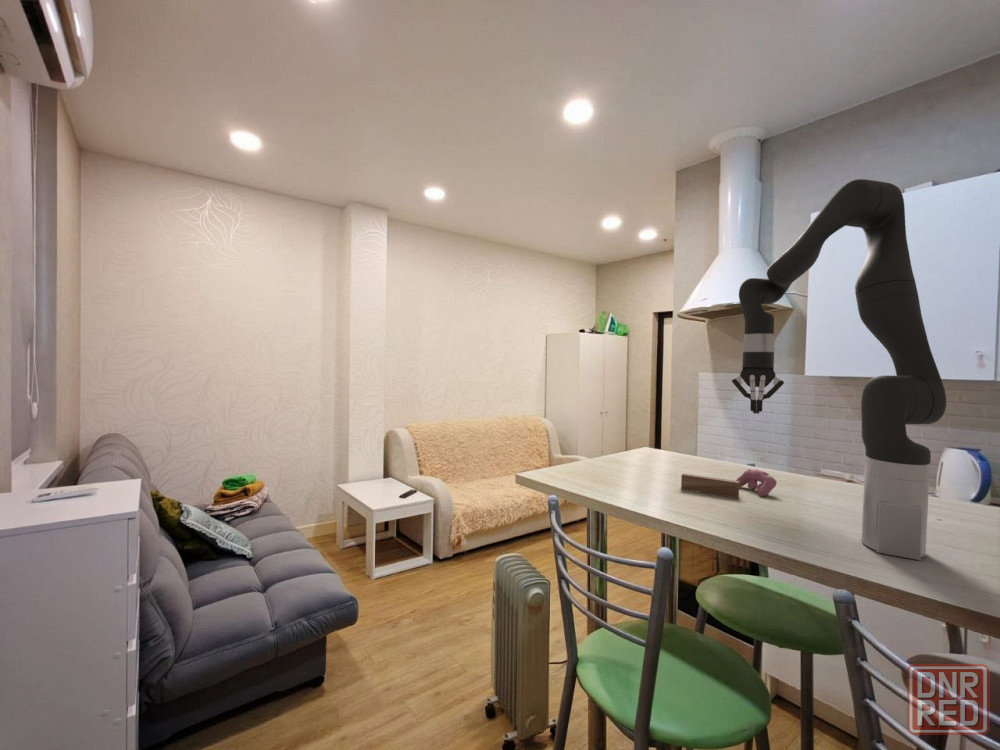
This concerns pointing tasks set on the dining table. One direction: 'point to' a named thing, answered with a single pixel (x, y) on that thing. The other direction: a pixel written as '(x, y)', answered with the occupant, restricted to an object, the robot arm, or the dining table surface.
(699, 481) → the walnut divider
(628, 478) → the dining table surface
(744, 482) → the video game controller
